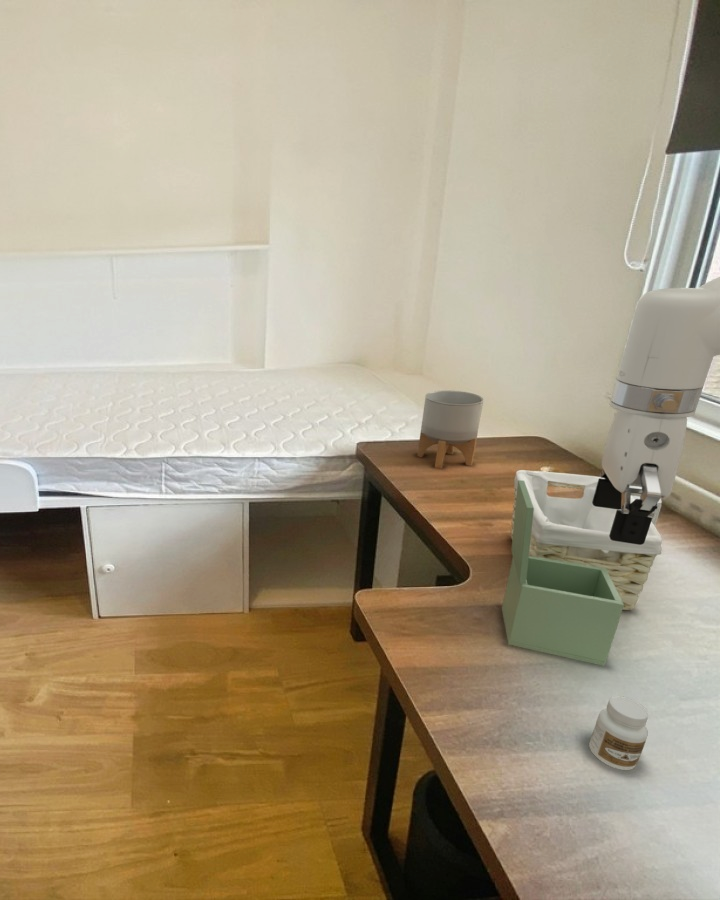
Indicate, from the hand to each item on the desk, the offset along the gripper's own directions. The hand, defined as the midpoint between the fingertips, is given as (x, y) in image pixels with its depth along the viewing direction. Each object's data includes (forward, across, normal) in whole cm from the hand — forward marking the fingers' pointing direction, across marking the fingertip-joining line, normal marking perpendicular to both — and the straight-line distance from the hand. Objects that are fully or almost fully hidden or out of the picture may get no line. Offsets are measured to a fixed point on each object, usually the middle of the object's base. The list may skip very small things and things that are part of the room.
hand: (615, 523), depth 72 cm
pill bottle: (+24, -16, -1) cm, 29 cm away
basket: (+24, +27, -3) cm, 36 cm away
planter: (+24, +76, +16) cm, 81 cm away
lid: (+6, +6, +8) cm, 12 cm away
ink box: (+24, +40, -14) cm, 49 cm away
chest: (+24, +6, +2) cm, 24 cm away
